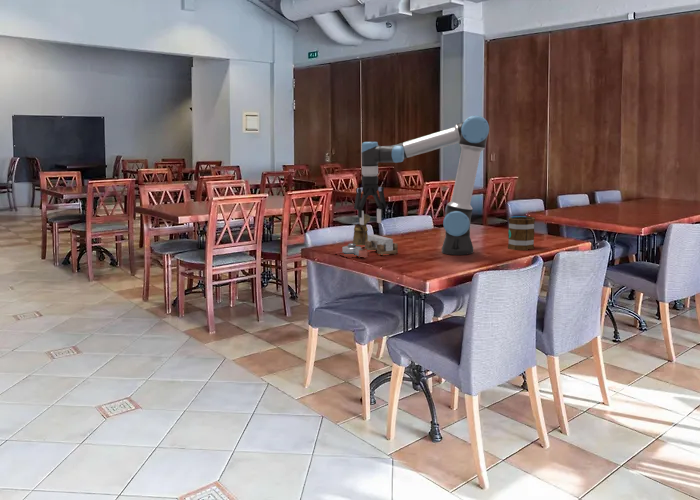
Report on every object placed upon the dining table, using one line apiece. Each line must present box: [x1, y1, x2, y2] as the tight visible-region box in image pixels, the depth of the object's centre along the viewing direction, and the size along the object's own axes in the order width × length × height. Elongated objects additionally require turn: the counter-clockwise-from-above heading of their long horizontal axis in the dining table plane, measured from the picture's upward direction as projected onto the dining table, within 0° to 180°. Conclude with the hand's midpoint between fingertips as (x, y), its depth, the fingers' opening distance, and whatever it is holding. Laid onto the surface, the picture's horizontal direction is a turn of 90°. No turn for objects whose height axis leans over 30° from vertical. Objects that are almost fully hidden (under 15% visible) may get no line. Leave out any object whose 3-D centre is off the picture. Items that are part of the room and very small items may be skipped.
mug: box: [507, 215, 536, 251], centre depth 323 cm, size 20×14×15 cm
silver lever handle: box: [341, 242, 368, 258], centre depth 307 cm, size 17×9×5 cm, turn 28°
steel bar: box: [368, 234, 394, 251], centre depth 316 cm, size 17×4×6 cm, turn 29°
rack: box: [364, 241, 399, 255], centre depth 316 cm, size 16×9×5 cm, turn 28°
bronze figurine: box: [352, 213, 371, 245], centre depth 331 cm, size 9×14×18 cm, turn 17°
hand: (370, 223), depth 305 cm, fingers open, 9 cm apart
